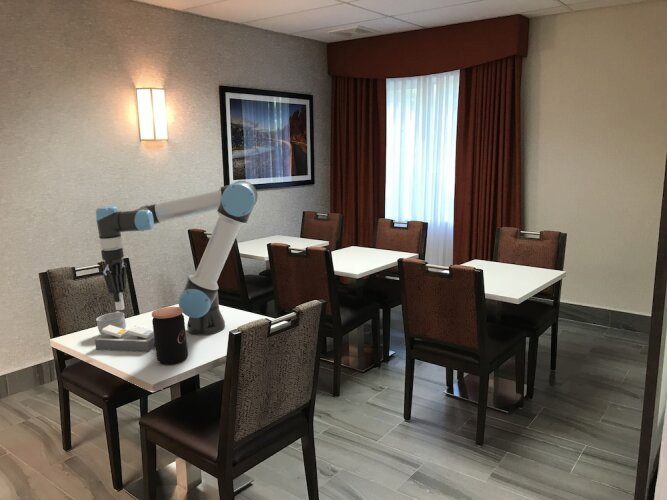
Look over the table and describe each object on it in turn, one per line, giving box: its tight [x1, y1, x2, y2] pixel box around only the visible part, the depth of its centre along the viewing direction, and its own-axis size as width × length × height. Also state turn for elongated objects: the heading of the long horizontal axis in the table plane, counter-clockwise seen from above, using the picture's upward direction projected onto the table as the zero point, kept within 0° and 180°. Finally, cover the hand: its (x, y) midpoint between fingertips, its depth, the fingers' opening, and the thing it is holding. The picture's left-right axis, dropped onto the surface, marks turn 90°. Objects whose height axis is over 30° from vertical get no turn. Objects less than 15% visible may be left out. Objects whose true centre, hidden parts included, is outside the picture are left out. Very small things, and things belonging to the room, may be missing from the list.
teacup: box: [95, 310, 127, 336], centre depth 223 cm, size 14×11×8 cm
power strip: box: [94, 333, 156, 353], centre depth 208 cm, size 26×10×5 cm, turn 78°
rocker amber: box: [102, 325, 129, 338], centre depth 209 cm, size 8×5×1 cm, turn 79°
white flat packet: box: [127, 325, 154, 338], centre depth 206 cm, size 8×5×1 cm, turn 79°
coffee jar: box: [151, 306, 189, 366], centre depth 191 cm, size 11×11×18 cm
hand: (120, 309), depth 207 cm, fingers closed
